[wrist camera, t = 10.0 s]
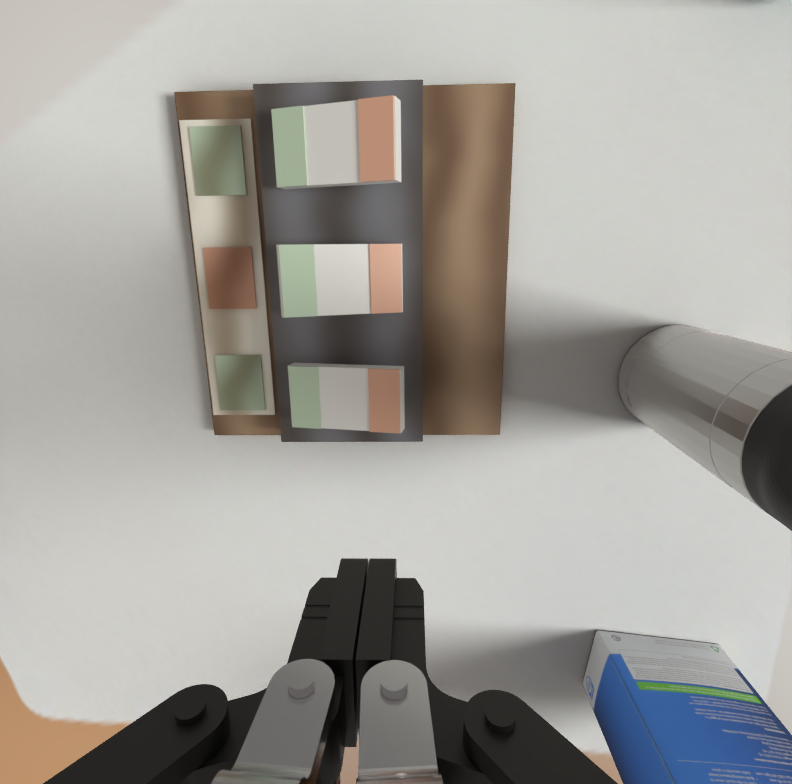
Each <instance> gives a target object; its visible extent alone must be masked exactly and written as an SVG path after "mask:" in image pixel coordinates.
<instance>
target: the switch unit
mask: <svg viewBox="0 0 792 784" xmlns="http://www.w3.org/2000/svg"><path fill="white" fill-rule="evenodd" d="M174 93H175V102H176V110H177V119H178V128H179V136H180V145H181V153H182V162H183V170H184V179H185V187H186V196H187V204H188V213H189V221H190V230H191V238H192V247H193V255H194V264H195V272H196V281H197V289H198V298H199V306H200V315H201V323H202V332H203V340H204V349H205V357H206V366H207V374H208V383H209V391H210V400H211V408H212V417H213V425H214V434H215V435H281V440H282V442H407V441H423V435H500V419H501V397H502V374H503V351H504V329H505V306H506V283H507V261H508V238H509V216H510V193H511V170H512V148H513V125H514V103H515V83H507V84H468V85H430V86H423V80H393V81H355V82H317V83H279V84H253V90H237V91H198V92H174ZM390 95H393V96H396V97H397V98H398V99H399V100H400V101H401V183H384V184H367V185H350V186H334V187H317V188H300V189H282V188H277V183H276V169H275V155H274V141H273V127H272V113H271V109H277V108H286V107H294V106H309V105H318V104H327V103H336V102H344V101H353V100H358V99H364V98H373V97H381V96H390ZM297 244H402V272H403V312H398V313H376V314H349V315H327V316H310V317H288V318H284V317H283V318H282V316H281V303H280V290H279V276H278V263H277V250H276V245H297ZM292 363H322V364H354V365H385V366H404V412H405V428H404V430H403V432H402V433H400V434H399V433H382V432H370V431H359V430H343V429H326V428H321V429H314V428H297V427H292V418H291V405H290V391H289V377H288V365H290V364H292Z"/></svg>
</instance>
